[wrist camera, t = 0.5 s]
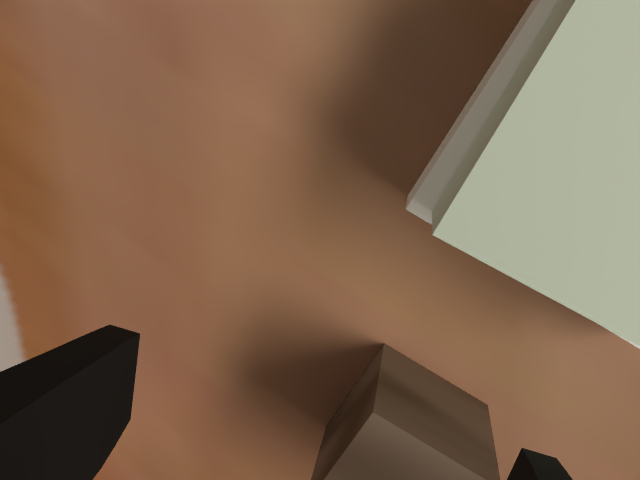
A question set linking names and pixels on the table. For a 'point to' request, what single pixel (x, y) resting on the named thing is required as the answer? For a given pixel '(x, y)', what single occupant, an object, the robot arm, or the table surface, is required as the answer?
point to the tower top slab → (562, 168)
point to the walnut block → (407, 428)
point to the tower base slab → (477, 114)
